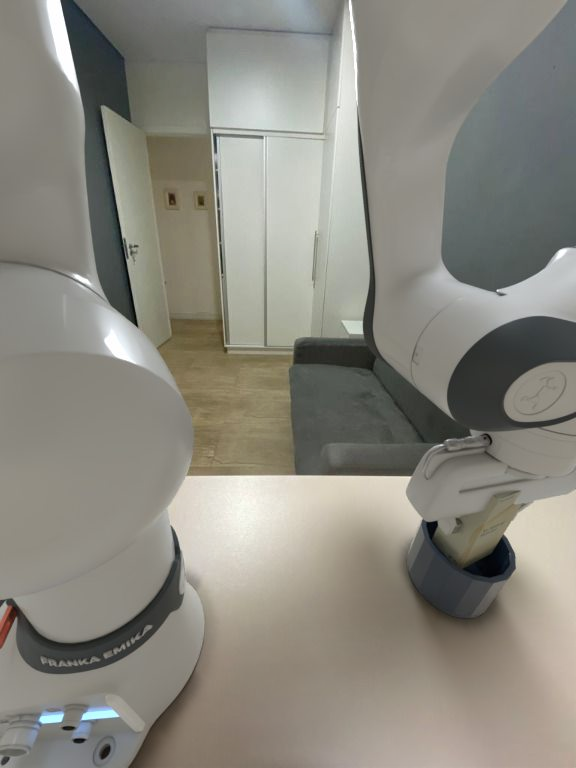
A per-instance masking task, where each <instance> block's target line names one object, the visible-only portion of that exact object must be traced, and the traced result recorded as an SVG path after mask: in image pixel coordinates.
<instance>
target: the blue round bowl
mask: <svg viewBox="0 0 576 768" xmlns="http://www.w3.org/2000/svg"><path fill="white" fill-rule="evenodd" d="M437 527H438V520H437V521H433V522H427V521H425V520H424V519H423V518H422V517H421V518H420V521H419V524H418V525H417V529H416V531H415V533H414V536H413V538H412V541H411V543H410V546H409V549H408V552H407V556H406V568H407V572H408V575H409V577H410V580H411V582H412V584H413V585H414V586H415V588H416V589H417V591H418V592H419V593H420V595H421V596H422V597H423V598H424V599H425V600H426V601H427V602H428V603H429V604H430V605H432V606H433V607H435V608H436V609H437V610H439V611H440V612H442V613H445V614H446V615H449V616H451V617H455V618H458V619H474V618H478V617H480V616H481V615H482V614H484V613H486V611H487V609H488V608H489V607H490V605H491V604H492V602H493V601H494V600H495V599H496V597H497V596H498V595H499V593H500V591H501V590H502V589H503V588H504V586H505V585H506V583H507V582H508V580H509V579H511V576H512V575H513V574H514V573H515V571H516V569H517V565H516V563H517V561H516V553H515V550H514V548H513V547H512V544H511V543H510V540H509V538H508V537H507V536H506V535H505V533H504V534H503V536H502V537H501V539H500V541H499V542H498V544H497V545H496V547H495V549H494V550H493V552H492V553H491V554H489V555H487V556H486V557H484V558H482V559H480V560H478V561H476V562H474V563H472V564H471V565H469V566H467V567H465V568H463V569H460V568H458V567H456V566H454V565H453V564H452V563H451V562H450V561H449V559H448V558H447V557H446V556H445V555H444V554H443V553H442V552H441V551H440V550H439V548H438V547H437V546H436V545H435V544H434V543H433V542H432V538H433V536H434V534H435V531H436V529H437Z"/></svg>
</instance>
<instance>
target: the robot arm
mask: <svg viewBox="0 0 576 768" xmlns="http://www.w3.org/2000/svg"><path fill="white" fill-rule="evenodd" d="M568 1H569V0H348V5H349V13H350V22H351V23H350V25H351V31H352V42H353V53H354V54H353V57H354V70H355V71H354V72H355V74H354V75H355V93H356V94H355V96H356V119H357V145H358V159H359V161H358V162H359V172H360V173H359V174H360V182H361V184H360V185H361V193H362V203H363V213H364V214H363V215H364V222H365V223H364V224H365V232H366V243H367V255H368V264H369V279H368V280H369V282H368V289H367V291H368V292H367V297H366V300H365V306H364V311H363V315H362V316H363V317H362V335H363V339H364V342H365V344H366V347H367V348H368V350H369V351H370V352H371V353H372V355H373V356H375V358H377V360H380V361H381V362H382V363H384V364H385V365H387V366H388V367H389V368H391V369H393V370H395V371H396V372H397V373H398V374H399V375H400V376H402V377H403V378H404V379H405V380H406V381H407V382H409V384H410V385H412V386H413V387H414V388H415V389H416V390H417V391H419V392H420V393H421V394H422V395H423V396H425V397H426V398H427V399H428V400H429V401H430V402H431V403H432V404H434V405H435V406H436V407H437V408H438V409H440V411H442V412H443V413H444V414H445V415H447V416H448V417H449V418H450V419H452V420H454V421H455V422H456V423H457V424H459V425H460V426H461V427H463V428H466V429H468V430H469V433H470V436H466V437H462V438H456V437H455V438H454V437H453V438H448V439H446V440H444V441H442V443H440V444H437V445H434V446H433V447H431V448H430V449H427V451H426V452H425V453H424V455H423V456H422V457H421V459H420V461H419V462H418V463H417V465H416V467H415V468H414V469H415V470H414V471H413V473H412V475H411V476H410V479H409V481H408V484H407V486H406V488H405V495H406V498H407V500H408V501H409V504H410V505H411V507H413V509H414V510H415V512H416V513H417V514H418V515H419V516H420V517H421V519H422V518H423V519H424V520H425V521H427V522H433V521H437V520H438V525H439V527H440V528H441V530H442V531H443V532H444V534H446V535H449V534H454V533H458V532H459V529H460V528H461V527H462V525H463V524H462V523H461V522H460V521H459V519H457V518H459V517H460V516H462V515H467V514H472V513H477V512H482V511H484V510H485V509H486V507H487V505H488V503H489V501H490V500H491V498H492V496H493V495H497V494H504V493H510V492H518V491H521V490H522V491H521V492H520V494H519V496H518V497H517V499H516V500H515V502H514V504H515V505H516V504H521V503H522V505H521V506H520V508H519V509H518V511H517V513H516V514H515V516H514V518H513V519H512V521H514V520H515V519H516V518H517V516H518V514H519V513H521V512H522V511H523V510H525V509H526V508H527V507H529V506H531V505H532V504H533V503H534V502H536V501H540V500H545V499H551V498H556V497H560V496H566V495H568V494H571V493H572V492H574V491H576V245H574V246H567V247H563V248H561V249H559V250H557V251H556V252H555V254H554V255H553V256H552V257H551V259H550V260H549V261H548V263H547V265H546V266H545V267H544V268H543V269H542V270H540V271H539V272H537V273H535V274H534V275H532V276H530V277H528V278H526V279H524V280H521V281H520V282H518V283H514V284H512V285H509V286H507V287H502V288H498V289H496V291H490V290H487V289H483V288H480V287H477V286H475V285H471V284H467V283H464V282H461V281H459V280H458V279H456V278H455V277H454V276H453V275H452V274H451V272H449V271H448V269H447V268H446V266H445V263H444V260H443V257H442V243H443V226H444V212H445V211H444V209H445V193H446V180H447V179H446V177H447V167H448V162H449V158H450V153H451V151H452V148H453V144H454V142H455V140H456V138H457V135H458V133H459V132H460V129H461V128H462V125H464V123H465V120H466V119H467V118H468V116H469V114H470V113H471V111H472V110H473V109H474V107H475V106H476V104H477V103H478V102H479V101H480V99H481V98H482V96H483V95H484V94H485V93H486V91H487V90H488V89H489V88H490V87H491V86H492V84H493V83H494V82H495V81H496V80H497V79H498V77H500V75H501V74H502V73H503V72H504V71H505V70H506V69H507V68H508V67H509V66H510V65H511V64H512V63H513V62H514V61H515V60H516V58H518V56H520V55H521V54H522V52H524V50H526V49H527V48H528V47H529V45H531V44H532V42H534V40H535V39H537V37H538V36H539V35H540V34H541V33H542V32H543V31H544V29H546V27H547V26H548V25H549V24H550V23H551V22H552V21H553V20H554V18H556V16H557V15H558V14H559V12H560V11H561V10H562V9H563V8H564V7H565V5H566V4H567V2H568ZM63 11H64V10H63V8H62V3H61V0H0V768H129V767H130V765H132V763H133V761H134V759H135V758H136V756H137V755H138V753H139V751H140V750H141V747H142V746H143V744H144V741H145V739H146V738H147V735H148V734H149V732H150V729H151V728H152V727H153V725H154V724H155V722H156V721H157V720H158V718H160V716H161V715H162V714H163V713H164V712H165V711H166V710H167V709H168V707H170V705H171V704H172V703H173V702H174V701H175V699H177V697H178V696H179V695H180V693H181V692H182V690H183V689H184V687H185V686H186V685H187V683H188V681H189V680H190V678H191V676H192V674H193V672H194V670H195V667H196V666H197V663H198V660H199V658H200V655H201V652H202V648H203V644H204V638H205V629H206V621H205V620H206V618H205V611H204V607H203V603H202V600H201V598H200V596H199V594H198V592H197V591H196V589H195V588H194V587H193V585H191V584H190V582H188V581H187V569H186V564H185V558H184V554H183V550H182V549H181V544H180V541H179V538H178V534H177V532H176V530H175V529H174V527H173V525H172V524H171V521H170V517H169V516H170V515H169V511H168V510H169V509H168V508H169V506H170V505H171V503H172V502H173V500H174V499H175V497H176V495H177V494H178V493H179V491H180V489H181V487H182V485H183V484H184V482H185V479H186V477H187V476H188V473H189V469H190V467H191V464H192V459H193V456H194V449H195V428H194V422H193V420H192V415H191V413H190V409H189V408H188V405H187V403H186V401H185V399H184V397H183V395H182V393H181V391H180V389H179V386H178V385H177V382H176V380H175V378H174V375H172V372H171V370H170V368H169V367H168V365H167V364H166V362H165V360H164V359H163V357H162V355H161V353H160V352H159V350H158V348H157V347H156V346H155V344H154V342H152V340H151V339H150V338H149V337H148V336H147V335H146V334H145V332H144V331H142V330H141V329H140V328H139V327H138V326H136V325H135V324H134V323H133V322H132V321H130V320H129V318H126V316H125V315H123V314H122V313H121V312H119V311H118V310H117V309H116V308H114V307H113V306H112V305H111V303H110V302H109V300H108V298H107V296H106V295H105V292H104V290H103V287H102V285H101V282H100V278H99V275H98V271H97V270H98V269H97V264H96V256H95V251H94V244H93V243H94V242H93V236H92V228H91V227H92V226H91V218H90V209H89V198H88V187H87V176H86V158H85V157H86V156H85V155H86V154H85V143H86V141H85V140H86V119H85V111H84V106H83V101H82V95H81V91H80V85H79V82H78V77H77V73H76V67H75V62H74V58H73V53H72V49H71V44H70V40H69V34H68V30H67V26H66V21H65V16H64V12H63ZM512 521H511V522H512ZM108 747H110V751H109V753H108V755H107V756H106V757H105V758H102V755H103V752H104V751H105V750H106V748H108Z"/></svg>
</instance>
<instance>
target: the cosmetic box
mask: <svg viewBox="0 0 576 768" xmlns="http://www.w3.org/2000/svg"><path fill="white" fill-rule="evenodd" d="M521 491H522V490H521ZM521 491H518V492H510V493H504V494H497V495H493V496H492V498H491V500H490V501H489V503H488V505H487V507H486V509H485V510H484V511H482V512H477V513H472V514H467V515H462V516H460V517H459V518H457V519H459V521H460V522H461V523H462V524H463V525H462V527H461V528H460V529H459V532H458V533H454V534H449V535H446V534H444V532H443V531H442V530H441V528H440V527H439V525H438V527H437V529H436V531H435V534H434V536H433V538H432V542H433V543H434V544H435V545H436V546H437V547H438V548H439V550H440V551H441V552H442V553H443V554H444V555H445V556H446V557H447V558H448V559H449V561H450V562H451V563H452V564H453V565H454V566H456V567H458V568H460V569H463V568H465V567H467V566H469V565H471V564H472V563H474V562H476V561H478V560H480V559H482V558H484V557H486V556H487V555H489V554H491V553H492V552H493V550H494V549H495V547H496V545H497V544H498V542H499V541H500V539H501V537H502V536H503V534H504V535H505V533H506V531H507V529H508V527H509V526H510V524H511V523H512V519H513V518H514V516H515V514H516V513H517V511H518V509H519V508H520V506H521V505H522V503H521V504H516V505H515V504H514V502H515V500H516V499H517V497H518V496H519V494H520V492H521Z"/></svg>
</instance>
